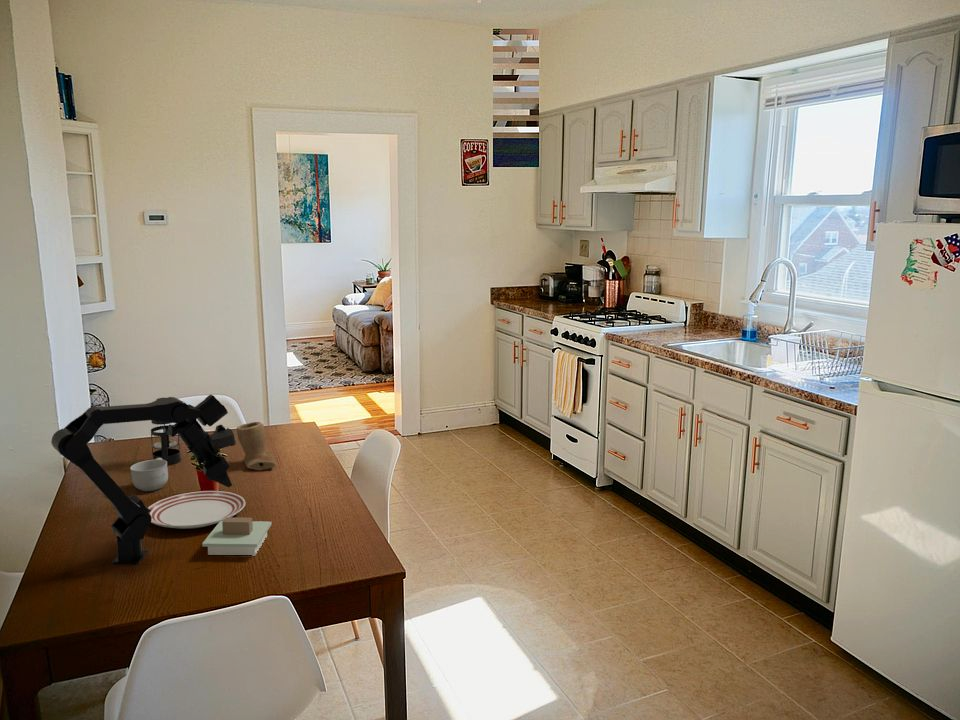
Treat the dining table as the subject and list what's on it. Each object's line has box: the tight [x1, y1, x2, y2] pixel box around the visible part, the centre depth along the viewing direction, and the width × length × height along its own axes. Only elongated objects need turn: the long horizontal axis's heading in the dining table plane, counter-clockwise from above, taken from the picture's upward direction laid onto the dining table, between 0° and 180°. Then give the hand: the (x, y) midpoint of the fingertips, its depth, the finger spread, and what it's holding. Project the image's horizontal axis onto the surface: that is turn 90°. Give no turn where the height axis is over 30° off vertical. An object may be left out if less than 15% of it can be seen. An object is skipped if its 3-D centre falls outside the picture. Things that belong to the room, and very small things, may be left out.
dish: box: [207, 531, 268, 557], centre depth 196 cm, size 12×12×3 cm
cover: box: [201, 516, 272, 548], centre depth 195 cm, size 14×14×4 cm
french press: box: [150, 397, 182, 467], centre depth 256 cm, size 12×9×23 cm
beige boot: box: [236, 421, 277, 471], centre depth 256 cm, size 15×12×15 cm
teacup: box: [129, 458, 169, 492], centre depth 235 cm, size 14×11×8 cm
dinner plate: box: [147, 490, 246, 530], centre depth 214 cm, size 28×27×3 cm
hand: (226, 479), depth 202 cm, fingers open, 9 cm apart
